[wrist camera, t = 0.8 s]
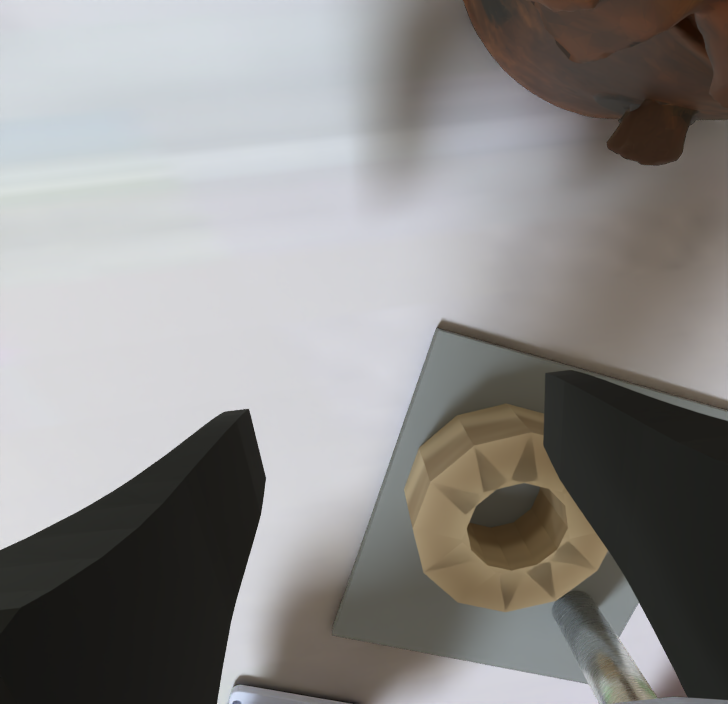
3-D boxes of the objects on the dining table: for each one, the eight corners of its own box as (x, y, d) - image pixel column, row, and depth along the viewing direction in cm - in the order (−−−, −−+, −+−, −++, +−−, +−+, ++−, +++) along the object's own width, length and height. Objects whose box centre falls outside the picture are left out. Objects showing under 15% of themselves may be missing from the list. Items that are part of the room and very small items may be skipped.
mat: (587, 676, 28) (592, 684, 27) (332, 627, 26) (332, 635, 25) (735, 412, 23) (743, 416, 23) (436, 327, 21) (438, 330, 21)
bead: (542, 577, 25) (568, 625, 22) (384, 543, 24) (390, 588, 21) (613, 432, 22) (653, 464, 20) (441, 386, 21) (456, 412, 18)
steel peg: (583, 628, 26) (684, 801, 18) (545, 620, 26) (631, 792, 18) (601, 595, 25) (713, 760, 18) (562, 587, 25) (659, 750, 17)
